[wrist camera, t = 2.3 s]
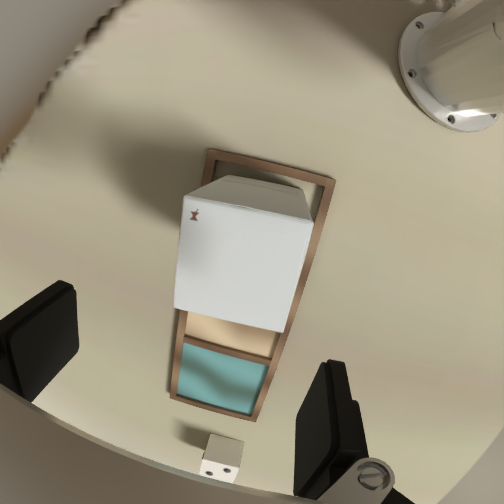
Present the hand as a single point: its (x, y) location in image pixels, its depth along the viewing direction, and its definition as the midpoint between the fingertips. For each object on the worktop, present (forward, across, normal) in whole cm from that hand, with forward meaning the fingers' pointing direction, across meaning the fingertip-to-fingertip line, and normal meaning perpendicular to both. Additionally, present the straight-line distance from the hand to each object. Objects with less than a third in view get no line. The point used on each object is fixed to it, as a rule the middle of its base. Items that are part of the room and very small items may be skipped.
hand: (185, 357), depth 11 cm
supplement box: (+21, 0, -1) cm, 21 cm away
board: (+21, 0, +9) cm, 23 cm away
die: (+21, -4, +33) cm, 40 cm away
